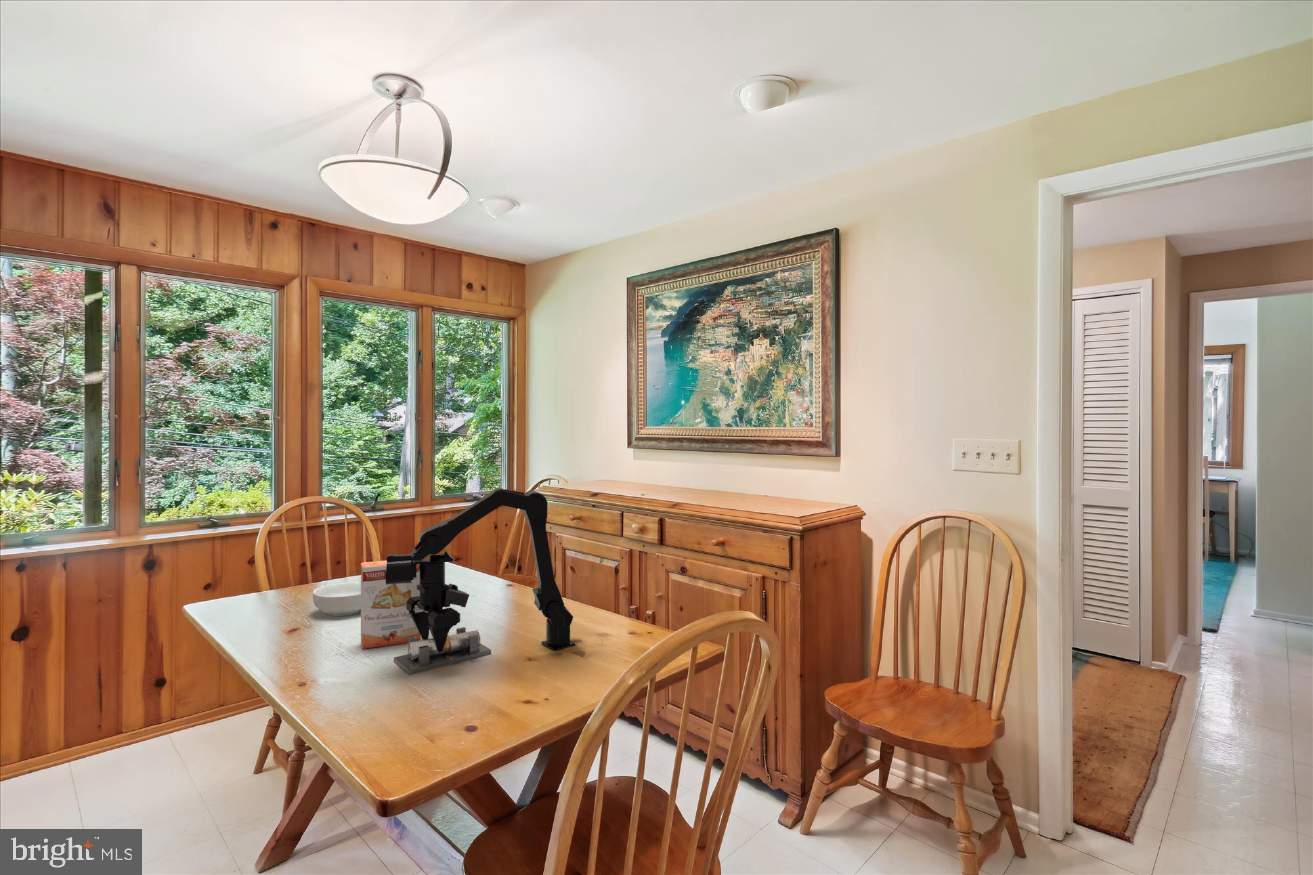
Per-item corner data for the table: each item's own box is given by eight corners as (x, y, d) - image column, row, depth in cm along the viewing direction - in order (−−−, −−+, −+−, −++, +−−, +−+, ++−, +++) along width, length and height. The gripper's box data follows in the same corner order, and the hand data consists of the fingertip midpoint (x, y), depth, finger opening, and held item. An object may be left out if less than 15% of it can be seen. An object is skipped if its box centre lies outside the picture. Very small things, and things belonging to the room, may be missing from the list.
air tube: (476, 647, 160) (474, 631, 162) (481, 645, 157) (479, 628, 158) (409, 661, 151) (407, 643, 153) (413, 659, 148) (411, 641, 150)
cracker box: (362, 650, 159) (361, 566, 159) (360, 642, 165) (359, 561, 164) (421, 641, 166) (421, 560, 165) (418, 634, 171) (417, 556, 171)
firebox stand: (491, 653, 157) (491, 633, 157) (408, 674, 144) (408, 652, 144) (473, 642, 165) (473, 623, 165) (393, 661, 152) (393, 640, 152)
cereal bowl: (358, 621, 182) (358, 596, 182) (300, 620, 182) (300, 596, 182) (385, 604, 199) (385, 581, 199) (332, 603, 199) (332, 580, 199)
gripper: (481, 583, 151) (481, 649, 151) (449, 568, 165) (449, 628, 165) (434, 591, 143) (435, 660, 144) (405, 575, 158) (405, 638, 158)
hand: (432, 645), depth 153 cm, fingers open, 9 cm apart
